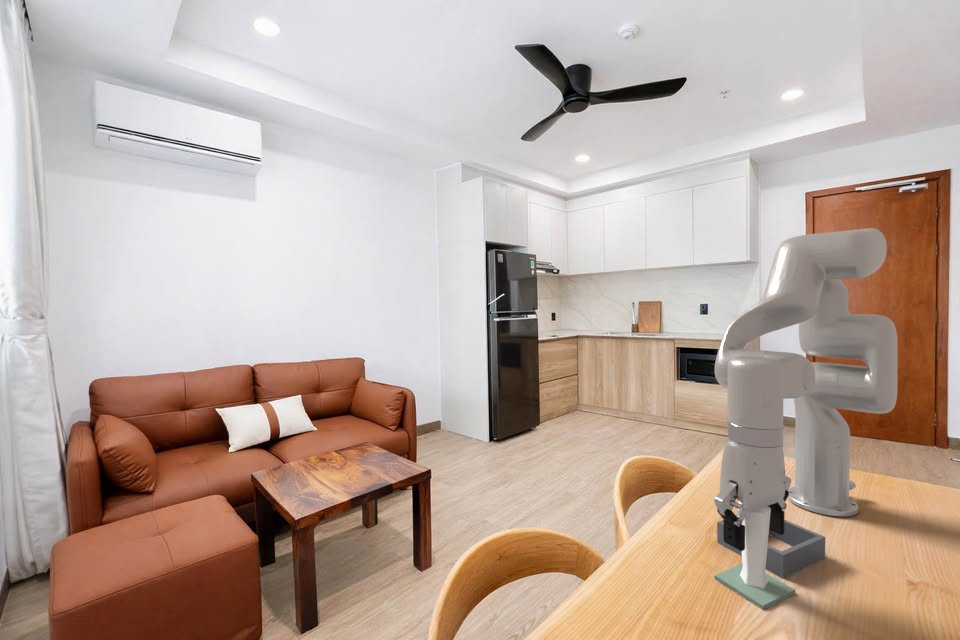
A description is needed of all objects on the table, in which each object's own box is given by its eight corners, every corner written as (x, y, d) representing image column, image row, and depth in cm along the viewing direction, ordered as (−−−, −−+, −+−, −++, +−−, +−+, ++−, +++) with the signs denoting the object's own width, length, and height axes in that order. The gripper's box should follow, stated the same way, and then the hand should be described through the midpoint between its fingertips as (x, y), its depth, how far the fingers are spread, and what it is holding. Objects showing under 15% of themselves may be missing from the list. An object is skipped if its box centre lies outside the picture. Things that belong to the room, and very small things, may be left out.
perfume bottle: (777, 591, 68) (777, 497, 67) (746, 588, 69) (746, 496, 68) (763, 573, 72) (764, 485, 72) (735, 570, 73) (735, 483, 73)
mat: (745, 565, 75) (745, 562, 75) (795, 593, 68) (795, 589, 68) (714, 578, 72) (714, 575, 72) (762, 609, 65) (762, 605, 65)
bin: (757, 527, 88) (757, 507, 87) (825, 559, 77) (825, 537, 76) (717, 542, 83) (717, 521, 82) (783, 578, 72) (783, 555, 72)
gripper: (765, 420, 76) (764, 515, 77) (696, 436, 69) (696, 540, 70) (812, 432, 69) (811, 536, 70) (741, 450, 62) (741, 566, 63)
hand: (754, 538), depth 70 cm, fingers open, 9 cm apart
